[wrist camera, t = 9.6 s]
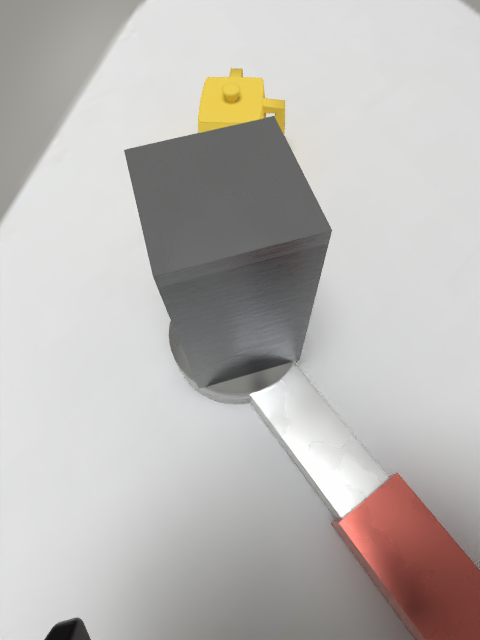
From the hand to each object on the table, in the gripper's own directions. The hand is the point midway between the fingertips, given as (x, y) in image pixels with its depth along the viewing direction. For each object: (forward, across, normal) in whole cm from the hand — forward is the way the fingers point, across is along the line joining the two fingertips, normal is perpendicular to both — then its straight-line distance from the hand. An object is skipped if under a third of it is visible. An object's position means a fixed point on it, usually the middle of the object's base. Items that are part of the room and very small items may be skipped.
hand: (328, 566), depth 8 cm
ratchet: (+12, -3, +6) cm, 13 cm away
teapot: (+26, -4, -8) cm, 28 cm away
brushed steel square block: (+15, 0, 0) cm, 15 cm away
